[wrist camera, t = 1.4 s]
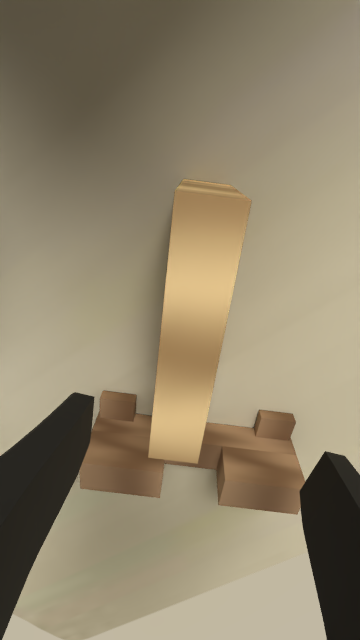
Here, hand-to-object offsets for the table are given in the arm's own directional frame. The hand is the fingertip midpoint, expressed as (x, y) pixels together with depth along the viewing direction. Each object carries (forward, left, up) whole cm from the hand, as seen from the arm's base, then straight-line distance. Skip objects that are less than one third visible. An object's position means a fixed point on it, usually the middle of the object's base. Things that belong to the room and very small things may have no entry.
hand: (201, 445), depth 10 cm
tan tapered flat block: (-1, 0, -11) cm, 10 cm away
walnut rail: (+6, -9, -11) cm, 15 cm away
